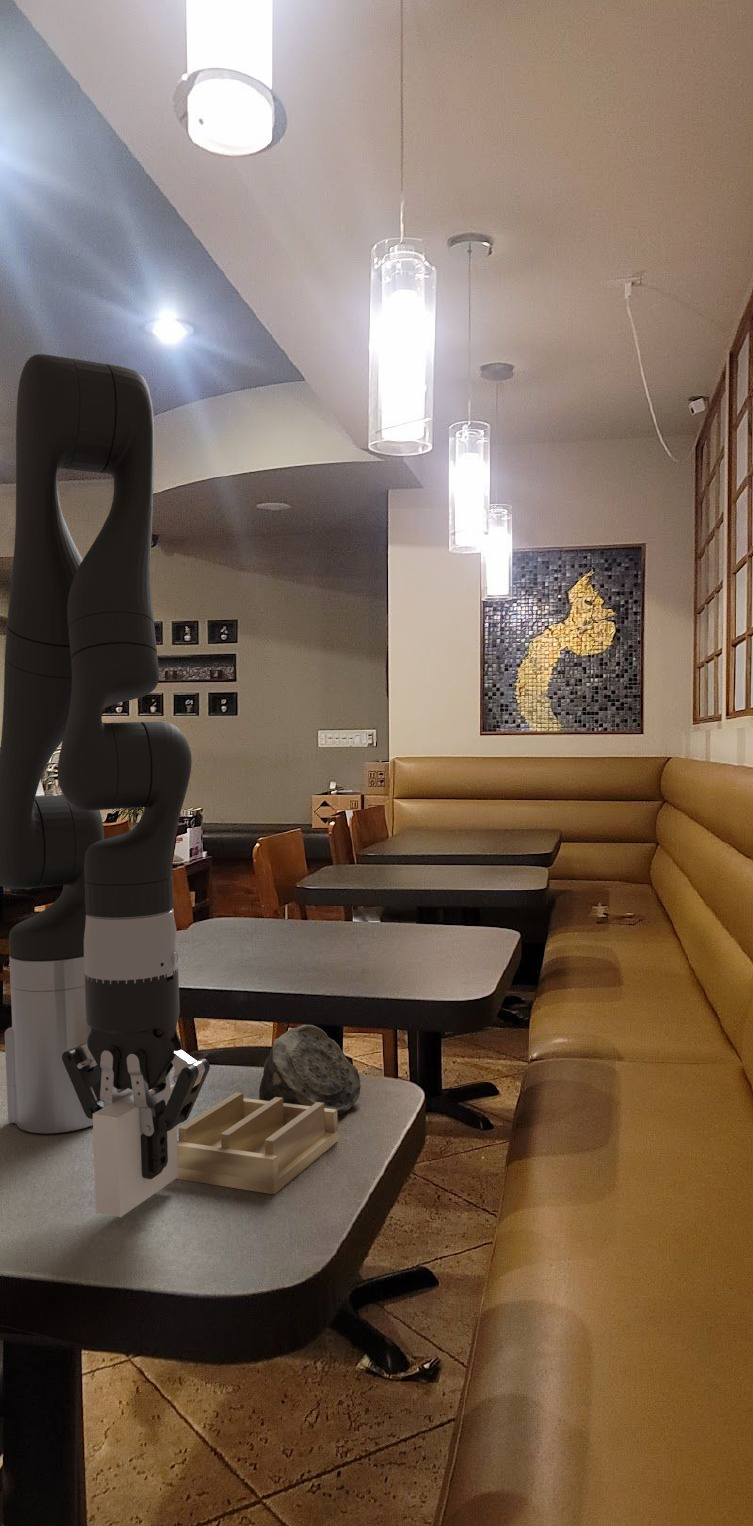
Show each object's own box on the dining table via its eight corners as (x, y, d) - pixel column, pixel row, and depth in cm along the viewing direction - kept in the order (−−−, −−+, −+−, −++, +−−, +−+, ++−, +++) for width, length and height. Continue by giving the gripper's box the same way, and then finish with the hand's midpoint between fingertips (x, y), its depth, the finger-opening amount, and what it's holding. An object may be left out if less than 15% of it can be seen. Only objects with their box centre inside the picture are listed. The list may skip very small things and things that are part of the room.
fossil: (349, 1123, 106) (299, 1033, 106) (272, 1161, 108) (223, 1073, 108) (372, 1083, 117) (327, 1002, 117) (302, 1119, 119) (257, 1039, 119)
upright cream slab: (95, 1212, 86) (92, 1113, 86) (154, 1172, 94) (151, 1081, 93) (120, 1217, 85) (117, 1117, 85) (177, 1176, 93) (175, 1084, 92)
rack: (165, 1176, 96) (163, 1131, 96) (238, 1126, 107) (236, 1087, 107) (274, 1194, 91) (272, 1147, 91) (338, 1140, 103) (336, 1099, 103)
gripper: (33, 969, 88) (40, 1177, 89) (177, 982, 82) (183, 1205, 83) (92, 950, 95) (98, 1143, 96) (228, 961, 89) (234, 1167, 90)
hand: (138, 1171), depth 89 cm, fingers closed on upright cream slab, 2 cm apart
